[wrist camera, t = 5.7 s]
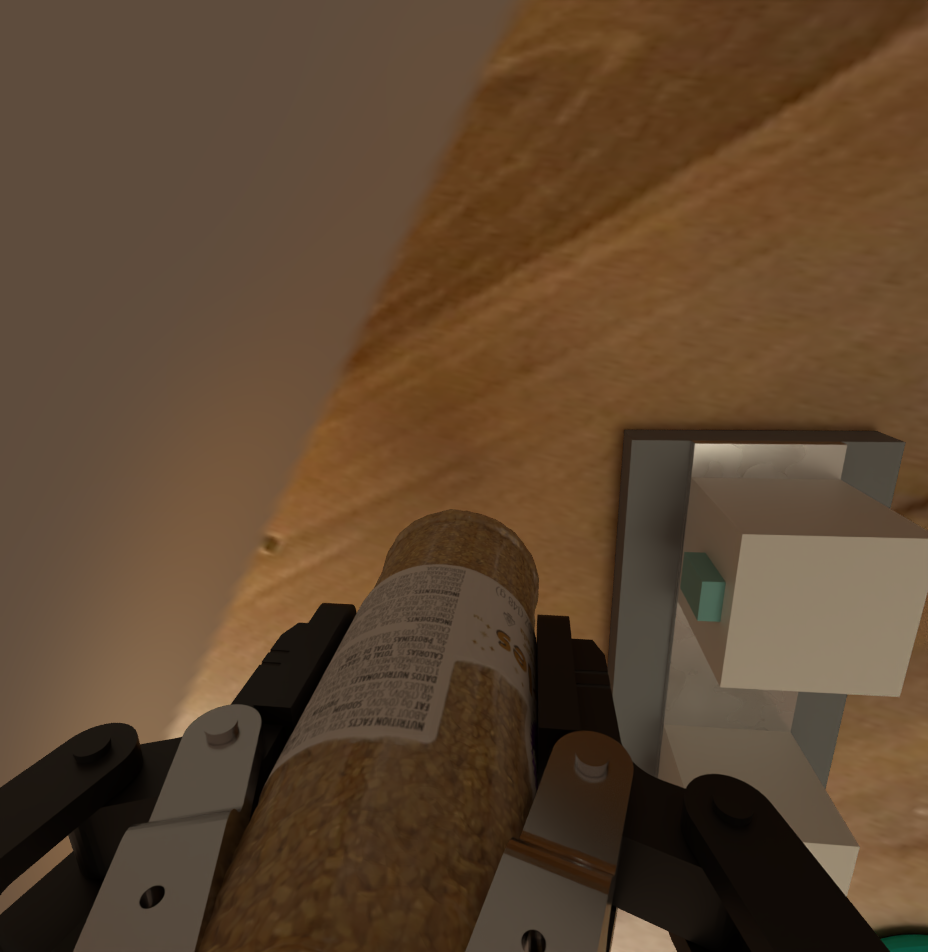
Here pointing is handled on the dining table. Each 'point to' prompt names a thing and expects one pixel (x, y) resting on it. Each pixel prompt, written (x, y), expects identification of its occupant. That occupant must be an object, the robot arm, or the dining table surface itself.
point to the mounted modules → (794, 628)
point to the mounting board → (656, 564)
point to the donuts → (906, 943)
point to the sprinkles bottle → (400, 760)
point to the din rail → (688, 672)
